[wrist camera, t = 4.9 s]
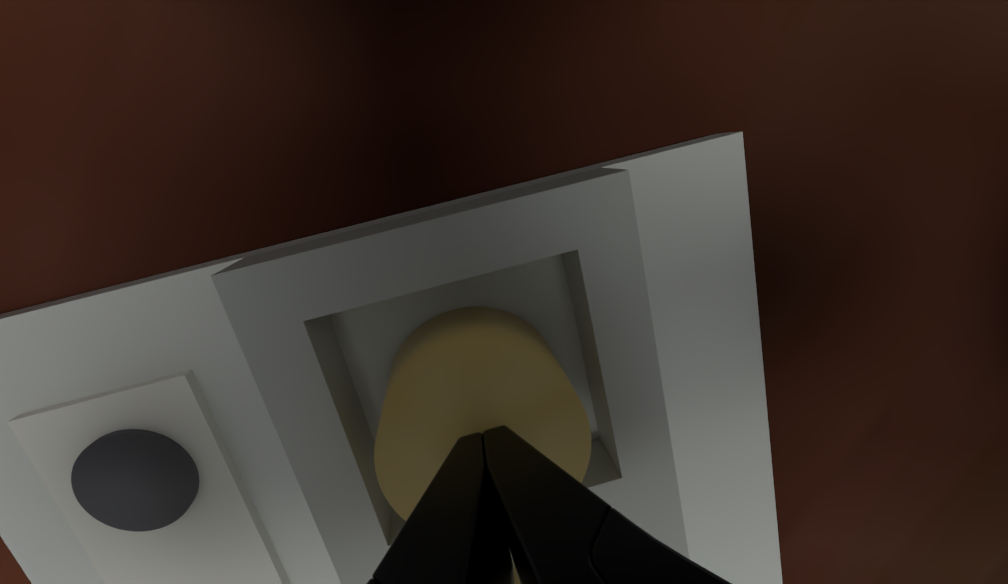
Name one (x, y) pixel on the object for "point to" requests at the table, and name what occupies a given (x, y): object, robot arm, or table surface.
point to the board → (365, 373)
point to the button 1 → (473, 399)
